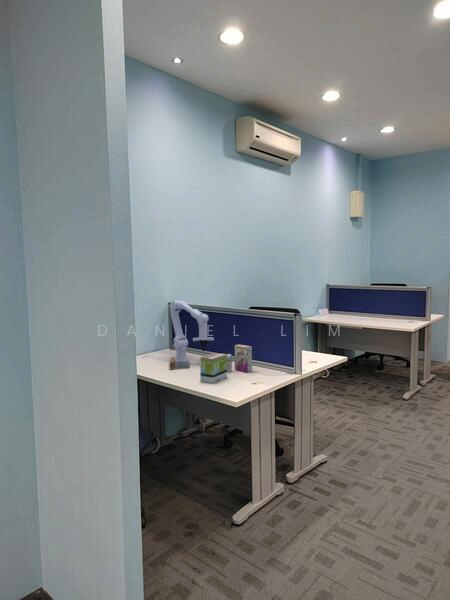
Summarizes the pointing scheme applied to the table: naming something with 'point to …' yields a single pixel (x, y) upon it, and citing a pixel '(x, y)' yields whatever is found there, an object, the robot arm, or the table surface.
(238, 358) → the candy bar box
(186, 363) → the steel slab
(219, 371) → the tea box
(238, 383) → the table surface
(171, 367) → the stop bar
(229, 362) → the light bulb box
